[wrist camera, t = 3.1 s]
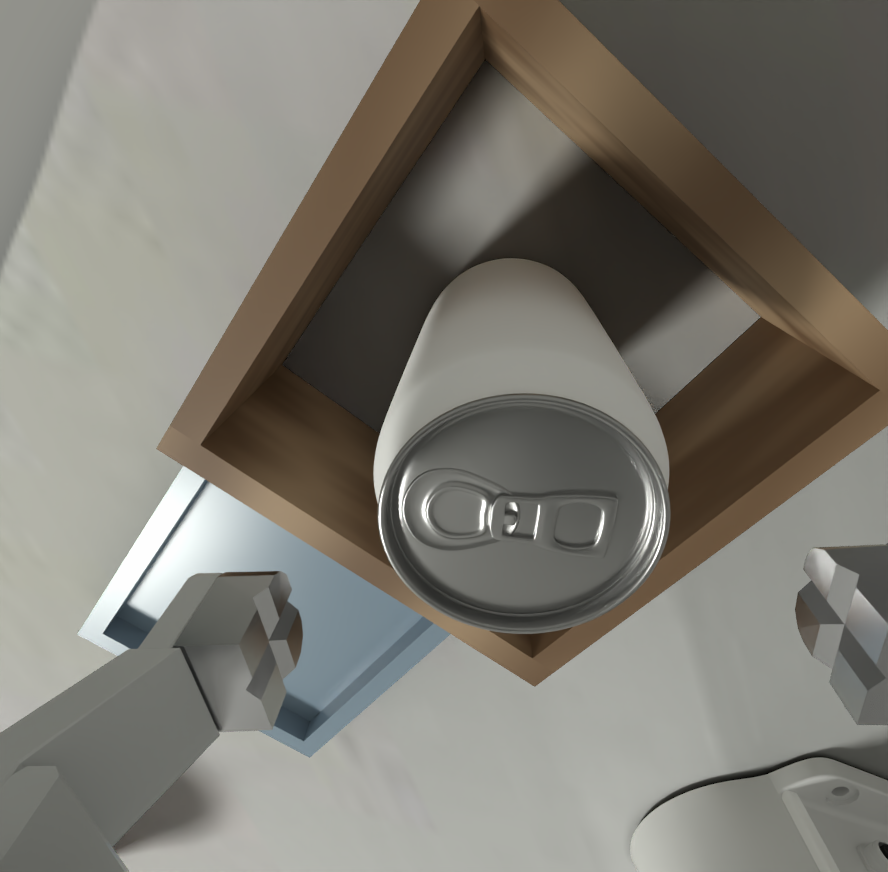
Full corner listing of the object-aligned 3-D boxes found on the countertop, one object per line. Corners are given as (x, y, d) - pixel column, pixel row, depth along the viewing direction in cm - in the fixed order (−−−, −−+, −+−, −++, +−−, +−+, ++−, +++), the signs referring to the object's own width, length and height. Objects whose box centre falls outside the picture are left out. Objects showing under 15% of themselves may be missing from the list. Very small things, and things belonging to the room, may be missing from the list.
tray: (466, 591, 27) (464, 621, 25) (319, 725, 33) (309, 757, 31) (216, 427, 24) (194, 448, 22) (102, 605, 30) (77, 634, 28)
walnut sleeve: (803, 313, 20) (942, 385, 14) (525, 559, 26) (534, 686, 20) (480, 3, 17) (472, -87, 10) (249, 368, 23) (156, 448, 16)
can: (427, 249, 20) (351, 356, 9) (608, 261, 20) (741, 387, 9) (421, 411, 23) (357, 633, 12) (578, 424, 23) (652, 663, 12)
